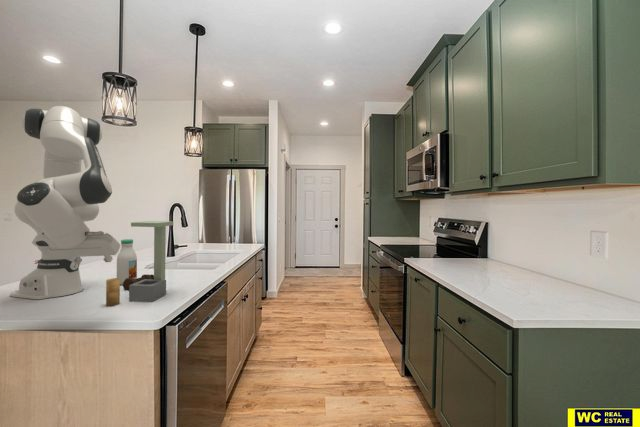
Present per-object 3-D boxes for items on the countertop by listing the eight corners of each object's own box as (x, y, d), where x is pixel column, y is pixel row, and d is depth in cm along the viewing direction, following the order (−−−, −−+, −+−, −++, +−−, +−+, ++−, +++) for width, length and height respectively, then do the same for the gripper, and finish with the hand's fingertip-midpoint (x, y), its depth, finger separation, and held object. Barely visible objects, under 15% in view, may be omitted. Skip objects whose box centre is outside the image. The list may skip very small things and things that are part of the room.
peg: (103, 305, 103) (103, 280, 103) (111, 302, 107) (111, 278, 107) (114, 306, 103) (114, 281, 103) (122, 302, 107) (122, 278, 107)
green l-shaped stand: (130, 299, 110) (131, 222, 109) (149, 290, 122) (150, 220, 121) (156, 300, 110) (157, 223, 109) (173, 291, 122) (173, 221, 121)
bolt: (154, 285, 136) (129, 294, 121) (145, 279, 137) (120, 287, 122) (160, 275, 136) (136, 282, 121) (151, 269, 136) (126, 275, 122)
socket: (129, 301, 108) (129, 285, 108) (144, 293, 117) (144, 279, 117) (152, 301, 108) (152, 286, 108) (166, 294, 117) (166, 279, 117)
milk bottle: (121, 286, 127) (121, 241, 126) (113, 283, 131) (113, 239, 131) (140, 282, 133) (140, 239, 133) (131, 280, 138) (132, 238, 137)
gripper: (111, 223, 87) (131, 252, 97) (38, 226, 85) (66, 255, 95) (102, 239, 82) (124, 267, 92) (25, 243, 81) (55, 271, 91)
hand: (94, 261), depth 94 cm, fingers open, 8 cm apart
